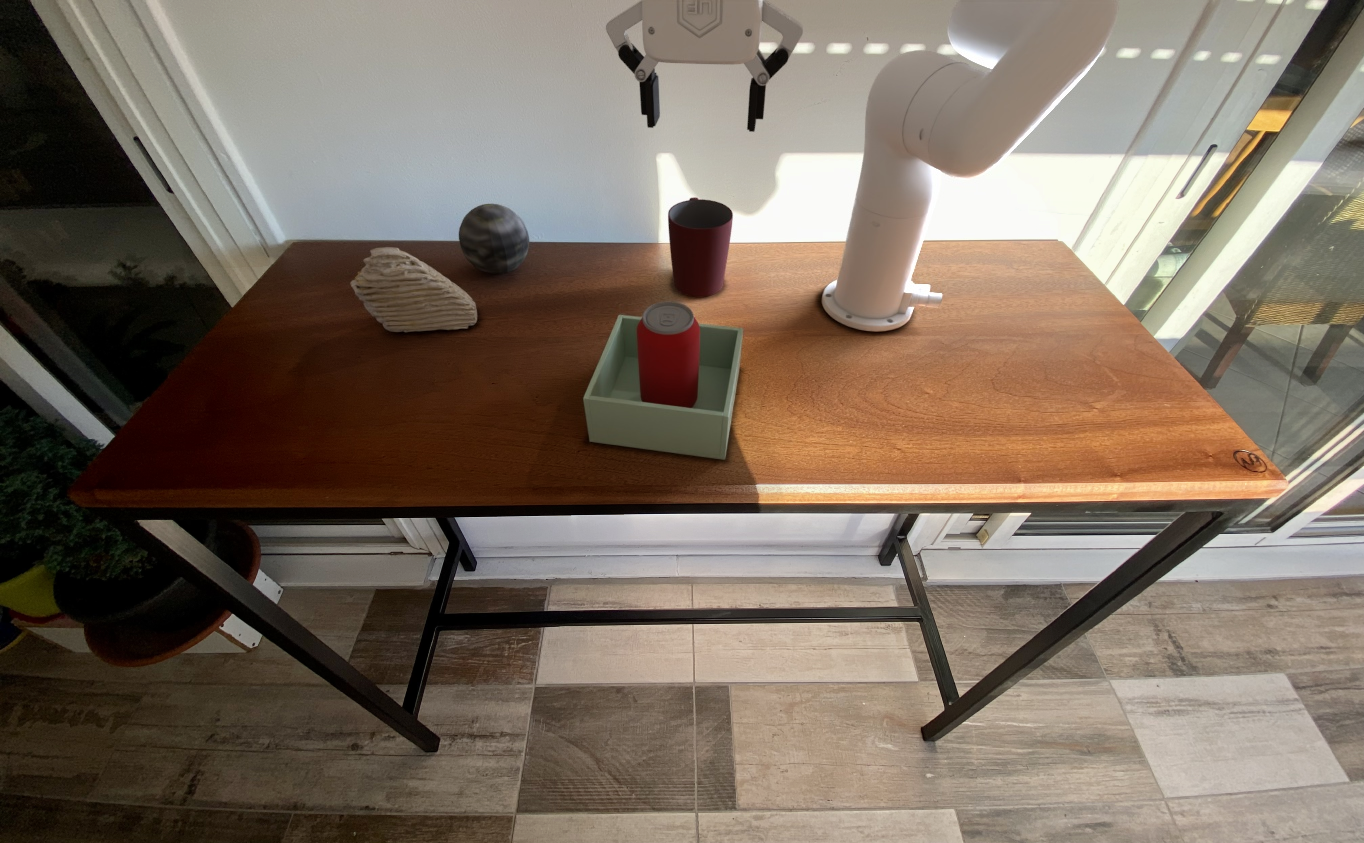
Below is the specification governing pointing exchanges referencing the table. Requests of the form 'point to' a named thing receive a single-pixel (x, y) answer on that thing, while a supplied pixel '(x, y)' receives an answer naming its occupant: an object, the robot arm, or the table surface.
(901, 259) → the robot arm
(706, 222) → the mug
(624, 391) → the sage green storage bin
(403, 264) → the fossil tooth
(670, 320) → the beverage can
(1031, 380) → the table surface
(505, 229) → the decorative stone
